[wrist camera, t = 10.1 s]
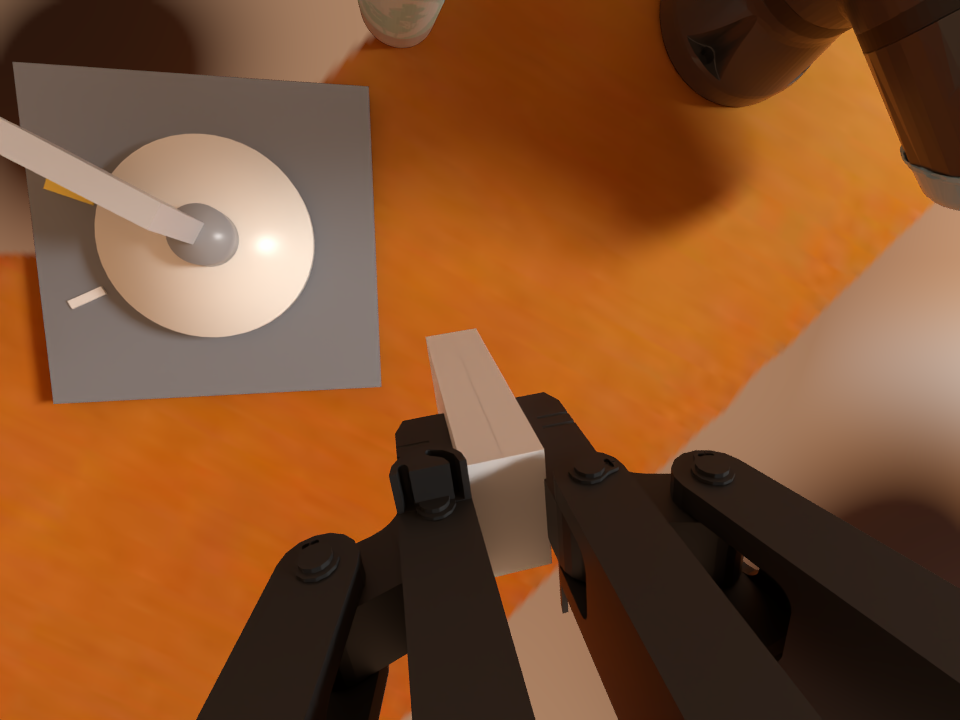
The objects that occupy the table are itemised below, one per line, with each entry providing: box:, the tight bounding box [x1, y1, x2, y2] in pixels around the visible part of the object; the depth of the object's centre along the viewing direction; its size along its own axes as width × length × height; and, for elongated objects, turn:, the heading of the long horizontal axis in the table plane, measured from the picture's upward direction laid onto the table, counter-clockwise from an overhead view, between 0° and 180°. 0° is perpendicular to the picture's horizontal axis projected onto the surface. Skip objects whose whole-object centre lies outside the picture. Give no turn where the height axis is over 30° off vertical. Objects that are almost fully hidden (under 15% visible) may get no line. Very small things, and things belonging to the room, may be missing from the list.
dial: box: [0, 117, 315, 337], centre depth 31 cm, size 17×14×10 cm
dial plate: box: [13, 62, 381, 404], centre depth 37 cm, size 23×23×2 cm
